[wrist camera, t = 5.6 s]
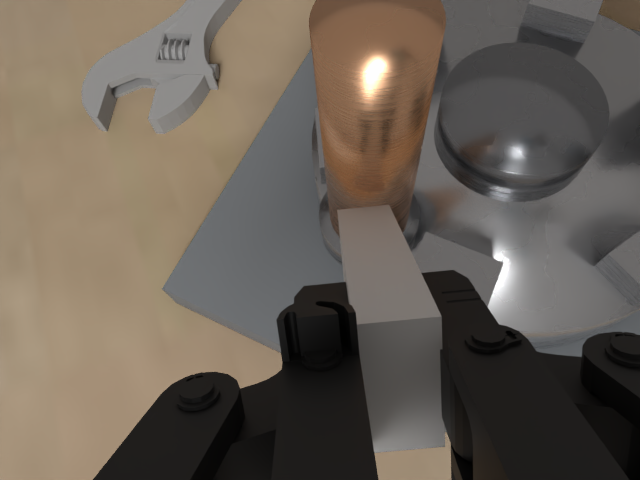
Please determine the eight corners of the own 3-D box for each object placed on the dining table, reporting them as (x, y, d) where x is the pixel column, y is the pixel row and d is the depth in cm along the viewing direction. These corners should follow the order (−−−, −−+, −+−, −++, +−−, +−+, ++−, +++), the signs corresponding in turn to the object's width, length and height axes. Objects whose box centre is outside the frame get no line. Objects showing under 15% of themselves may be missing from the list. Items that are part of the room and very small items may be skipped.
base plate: (761, 99, 27) (790, 72, 25) (674, 541, 19) (706, 548, 18) (366, -13, 32) (367, -42, 30) (176, 302, 24) (162, 289, 23)
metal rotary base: (505, -4, 28) (611, -349, 16) (764, 210, 22) (1224, -90, 10) (238, 152, 25) (134, -132, 13) (455, 448, 19) (609, 404, 7)
